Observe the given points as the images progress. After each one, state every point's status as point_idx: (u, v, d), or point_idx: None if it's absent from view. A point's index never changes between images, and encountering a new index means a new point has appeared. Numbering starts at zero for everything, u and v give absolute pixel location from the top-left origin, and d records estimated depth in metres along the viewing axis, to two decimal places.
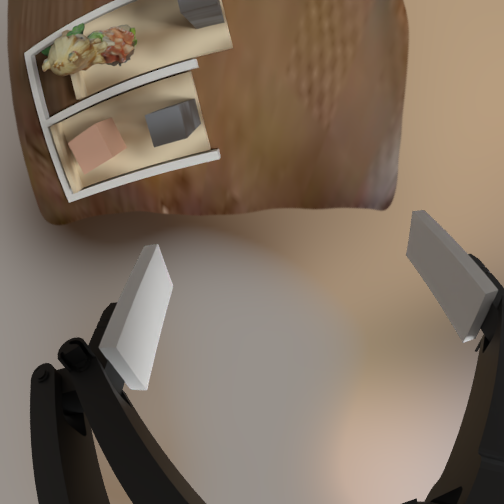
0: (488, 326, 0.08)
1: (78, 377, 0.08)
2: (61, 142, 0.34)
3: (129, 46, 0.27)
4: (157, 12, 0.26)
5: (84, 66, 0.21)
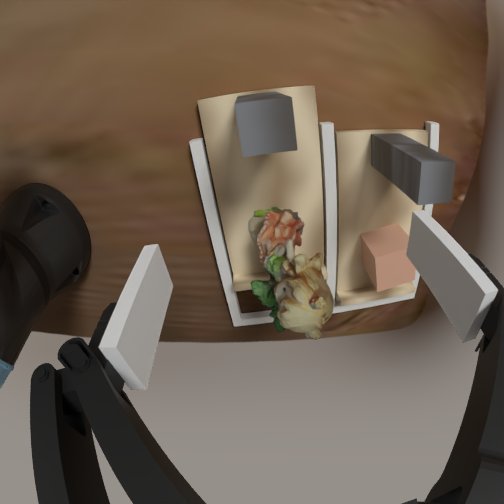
0: (488, 326, 0.08)
1: (78, 377, 0.08)
2: (361, 295, 0.36)
3: (284, 216, 0.29)
4: (242, 174, 0.29)
5: (324, 282, 0.23)
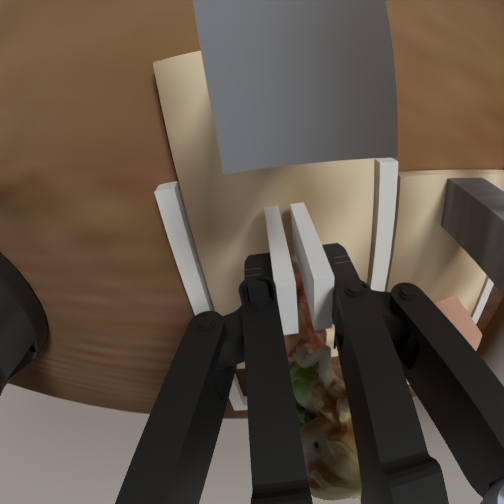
0: (335, 324, 0.10)
1: (251, 314, 0.10)
2: None
3: None
4: (235, 194, 0.16)
5: None
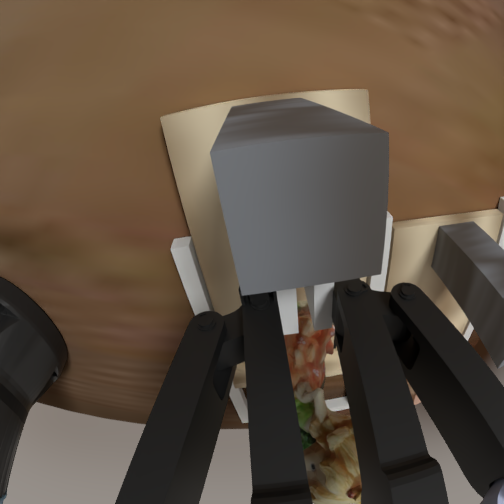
0: (335, 324, 0.10)
1: (250, 314, 0.10)
2: None
3: (307, 327, 0.19)
4: None
5: None
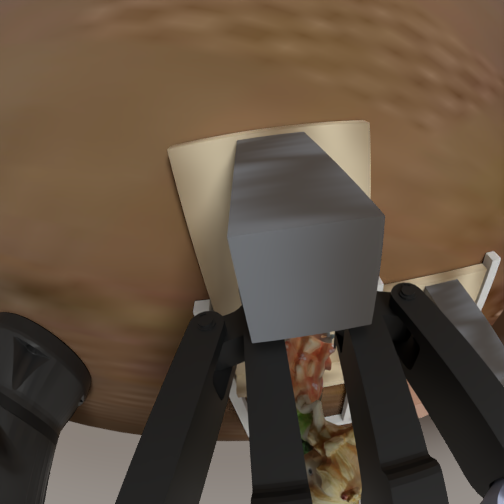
0: None
1: None
2: None
3: (308, 344, 0.20)
4: None
5: None
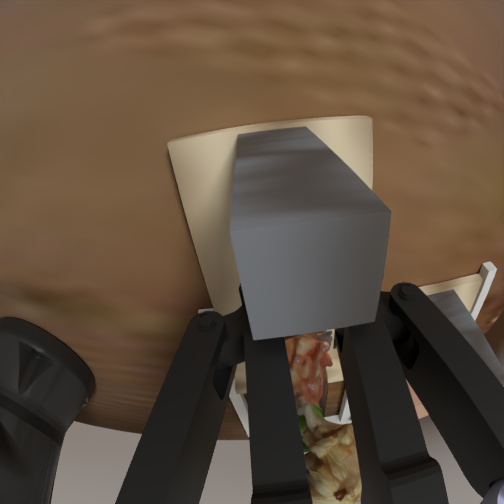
0: None
1: None
2: None
3: (299, 347, 0.21)
4: None
5: None
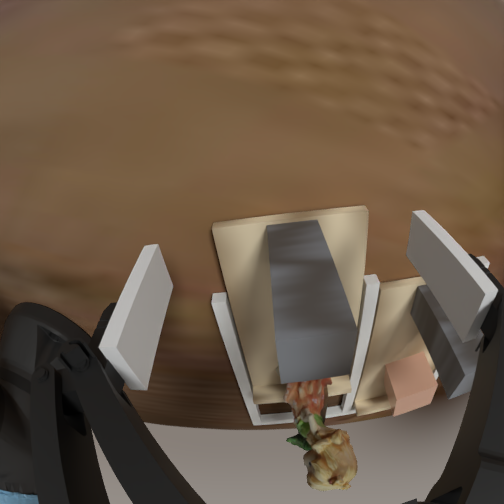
0: (488, 326, 0.08)
1: (78, 377, 0.08)
2: (377, 406, 0.33)
3: None
4: (267, 309, 0.25)
5: (346, 452, 0.19)
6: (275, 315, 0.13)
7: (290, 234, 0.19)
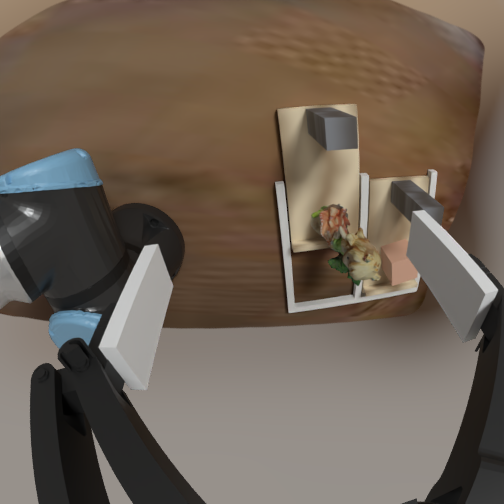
0: (488, 326, 0.08)
1: (78, 377, 0.08)
2: (380, 288, 0.51)
3: (331, 211, 0.41)
4: (305, 164, 0.40)
5: (369, 243, 0.34)
6: (321, 116, 0.28)
7: (319, 109, 0.34)
